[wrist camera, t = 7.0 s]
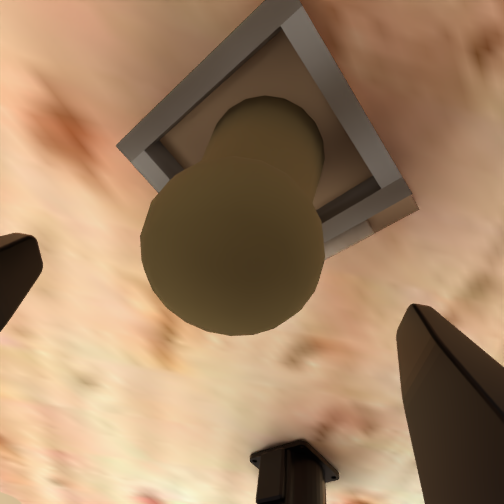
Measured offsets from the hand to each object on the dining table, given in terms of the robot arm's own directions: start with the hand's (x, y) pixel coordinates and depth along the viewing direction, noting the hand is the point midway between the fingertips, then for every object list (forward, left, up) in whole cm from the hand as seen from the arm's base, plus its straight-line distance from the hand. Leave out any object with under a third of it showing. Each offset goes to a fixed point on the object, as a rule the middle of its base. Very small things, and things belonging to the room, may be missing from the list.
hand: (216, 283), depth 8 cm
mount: (-1, +1, -12) cm, 12 cm away
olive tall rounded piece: (0, 0, -11) cm, 11 cm away
